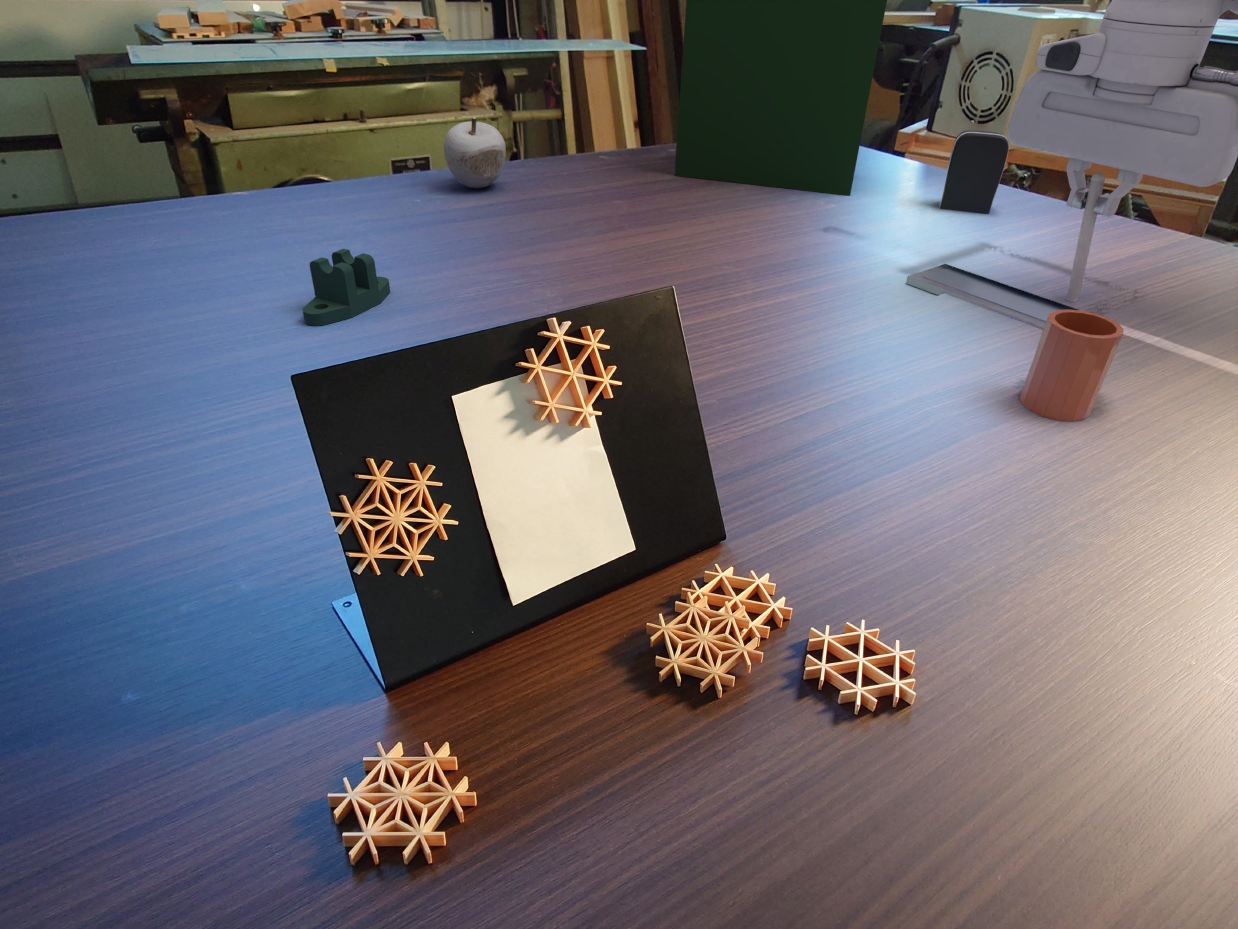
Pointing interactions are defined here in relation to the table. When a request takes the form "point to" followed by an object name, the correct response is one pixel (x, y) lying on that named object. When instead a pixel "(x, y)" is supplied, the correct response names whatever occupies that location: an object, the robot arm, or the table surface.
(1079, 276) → the stylus
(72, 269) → the table surface
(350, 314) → the mount
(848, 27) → the binder
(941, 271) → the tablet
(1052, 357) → the pen cup
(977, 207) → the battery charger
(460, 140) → the decorative object
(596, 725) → the table surface
